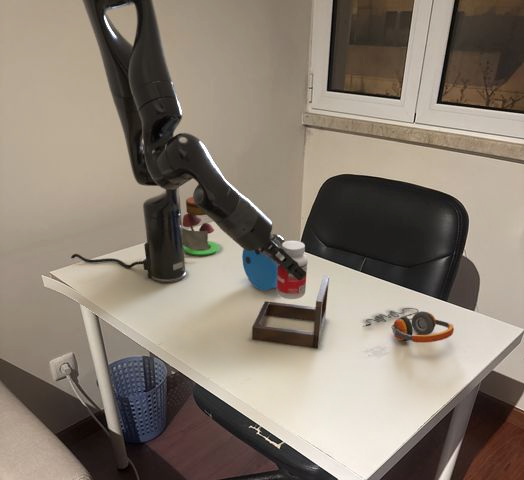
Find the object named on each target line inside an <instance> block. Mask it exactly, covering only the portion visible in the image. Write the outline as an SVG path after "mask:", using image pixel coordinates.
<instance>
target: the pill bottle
mask: <svg viewBox="0 0 524 480" xmlns="http://www.w3.org/2000/svg"><path fill="white" fill-rule="evenodd" d="M282 246H283V247H284V248H285V249H286V250H287V251H288V252H289V256H290V257H291V258H292V259H293V260H295V261H296V262H298V264H299V266H300V267H301V268H302V269H303V270H304V271H305V272H306V275H305V277H304V278H303V279H302V280H300V281H299V280H298V279H297V278H295V277H294V276H293V275H292V274H290V273H288V272H287V271H286V270H285V269H284V268H283V267H282V266H281V265H279V266H278V268H277V287H276V294H277V295H278V296H279V297H281V298H283V299H287V300H297V299H300V298H302V297H304V295H305V294H306V290H307V289H306V288H307V287H306V286H307V274H308V273H307V272H308V257H307V255H306V254H305V251H306V245H305V243H304V242H303V241H299V240H286V241H285V242H284V243H283V244H282Z"/></svg>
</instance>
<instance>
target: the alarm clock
mask: <svg viewBox="0 0 524 480" xmlns="http://www.w3.org/2000/svg"><path fill="white" fill-rule="evenodd" d="M271 234H272V235H273V236H274V237H275V238H276V239H277V240H278V241H279V242H280V244H281V245H282V244H283V243H284V242H286V241H285V239H284V238H283V236H281V235H279V234H278V233H271ZM241 257H242V267H243V270H244V273H245V275H246V277H247V279H248V280H249V282H250V283H251V285H252V286H253V287H254V288H256V289H257V290H260V291H265V292H266V291H269V290H272V289H276V288H277V268H278V265H276V264H275V263H274V262H273V261H272V260H271V259H270V258H269V257H266V256H265V255H264V254H262V253H261V251H260V250H258V249H256V250H253V251H246V250H244V249H243V248H242V256H241Z"/></svg>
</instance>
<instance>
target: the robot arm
mask: <svg viewBox="0 0 524 480" xmlns="http://www.w3.org/2000/svg"><path fill="white" fill-rule="evenodd" d="M82 3H83V6H84V9H85V12H86V14H87V18H88V21H89V23H90V26H91V29H92V31H93V34H94V37H95V40H96V43H97V46H98V50H99V54H100V56H101V60H102V65H103V68H104V73H105V76H106V78H107V84H108V87H109V92H110V95H111V98H112V101H113V104H114V106H115V110H116V112H117V117H118V119H119V122H120V125H121V128H122V132H123V136H124V140H125V144H126V150H127V154H128V158H129V165H130V168H131V171H132V175H133V178H134V180H135V181H136V183H137V184H138V185H140V186H145V187H160V188H161V189H163V190H164V191H162V192H161V193H159V194H157V195H153V196H152V197H148V198H147V199H145V200H144V202H143V203H142V210H143V220H144V227H145V235H146V242H145V243H144V244H143V246H144V247H143V248H144V255H145V258H144V259H143V260H139V261H134V262H132V263H131V264H127V263H125V262H123V261H122V260H120V259H118V258H110V257H109V258H98V259H96V258H95V259H88V258H85V257H83V256H82V255H81V254H78V253H74V254H72V255H71V257H70V259H75V258H78V259H79V260H81V261H83V262H86V263H90V264H91V263H92V264H93V263H105V262H114V263H118V264H120V265H121V266H122V267H125V268H127V269H131V268H133V267H135V266H139V265H142V266H143V267H142V268H143V271H147V278H148V279H152V280H153V281H155V282H158V283H174V282H178V281H180V280H183V279H184V278H185V277H187V271H186V260H185V252H184V246H183V233H182V228H183V219H182V209H181V196H180V195H181V194H180V187H181V186H183V185H184V184H186V183H187V182H189V181H191V180H192V179H193V180H195V181H196V183H197V186H196V187H195V189H194V191H193V193H192V197H193V200H194V203H195V204H196V206H197V207H198V208H199V209H200V210H202V211H203V212H204V213H205V214H206V215H205V216H207V217H208V218H210V219H211V220H212V221H213V222H214V223H215V224H216V225H217V227H219V229H220V230H221V231H223V233H224V234H226V235H227V236H228V237H229V238H230V239H232V241H234V242H235V243H236V244H237V245H238V246H239V247H241V248H242V250H243V249H244V250H246V251H253V250H256V249H258V250H260V251H261V253H262V254H264V255H265V256H266V257H269V258H270V259H271V260H272V261H273V262H274V263H275V264H276V265H278V266H279V265H281V266H282V267H283V268H284V269H285V270H286V271H287V272H288V273H290V274H292V275H293V276H294V277H295V278H297V279H298V280H299V281H300V280H302V279H303V278H304V277H305V275H306V276H307V274H306V272H305V271H304V270H303V269H302V268H301V267H300V266H299V264H298V262H296V261H295V260H293V259H292V258H291V257H290V256H289V252H288V251H287V250H286V249H285V248H284V247H283V246H282V245H281V244H280V242H279V241H278V240H277V239H276V238H275V237H274V236H273V235H272V234H273V233H272V230H273V223H272V220H271V219H270V218H269V217H268V216H267V215H265V214H264V212H263V211H261V209H259V207H258V206H256V205H255V204H254V203H253V202H252V201H251V200H250V199H249V198H248V197H246V196H245V195H243V194H242V193H241V192H240V191H238V190H237V188H236V187H234V185H232V183H230V181H228V180H227V179H226V178H225V177H224V175H223V173H222V172H221V170H220V169H219V167H218V165H217V164H216V162H215V160H214V159H213V157H212V155H211V153H210V152H209V149H208V148H207V147H206V145H205V144H204V143H203V141H202V140H201V139H199V137H197V136H195V135H193V134H191V133H188V132H180V133H177V134H176V135H174V134H175V131H176V129H177V128H178V127H179V125H180V123H181V122H182V119H183V110H182V106H181V104H180V101H179V98H178V94H177V92H176V88H175V86H174V83H173V80H172V77H171V74H170V70H169V66H168V64H167V59H166V56H165V51H164V47H163V41H162V37H161V32H160V27H159V23H158V19H157V13H156V9H155V5H154V2H153V0H82ZM133 5H134V8H135V15H136V28H135V34H134V39H133V44H131V43H130V42H129V41H128V40H127V39H126V38H125V37H124V36H123V35H122V34H121V32H120V31H119V30H118V29H117V27H115V25H114V23H113V22H112V20H111V19H110V17H109V15H108V14H107V11H110V10H111V11H112V10H115V9H119V8H124V7H129V6H133Z"/></svg>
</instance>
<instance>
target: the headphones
mask: <svg viewBox="0 0 524 480" xmlns="http://www.w3.org/2000/svg"><path fill="white" fill-rule="evenodd" d="M405 310H416V312H413V313H408V314H406V315H403V316H400V315H401V314H404V313H405ZM411 316H412V318H409V317H411ZM392 317H394V318H396V319H395V320H394V322H393V324H392V325H391V327H390V328H391V330H392V333H393V335H394V337H395V338H396V339H397V340H399V341H403V342H410V341H411V342H413V343H433V342H439V341H442V340H445V339H448V338H450V337H451V336H453V334H454V330H455V328H454V324H453V323H451V322H448V321H444V320H440V319H438V318H437V319H436V318H435V316H434V314H432V313H430V312H428V311H420V310H419V309H418V308H415V307H404V308H402V312H398V311H393V310H390V311H389V314H387V315H386V314H378V315H375V316H374V318H367V319H365V322H366V323H367V324H364V325H362V328H364V327H365V328H366V327H370V326H371V325H372V324H373V323H372V321H374V322H376V323H380V322H384V323H386V322H387V320H386V319H385V318H388V319H392ZM370 321H371V322H370ZM436 325H437V326H441V327H445V328H447V329H445V330H443V331H440V332H437V333H433V332H434V330H435V327H436ZM414 331H415V332H416V334H413V333H414ZM431 333H432V334H431Z"/></svg>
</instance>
